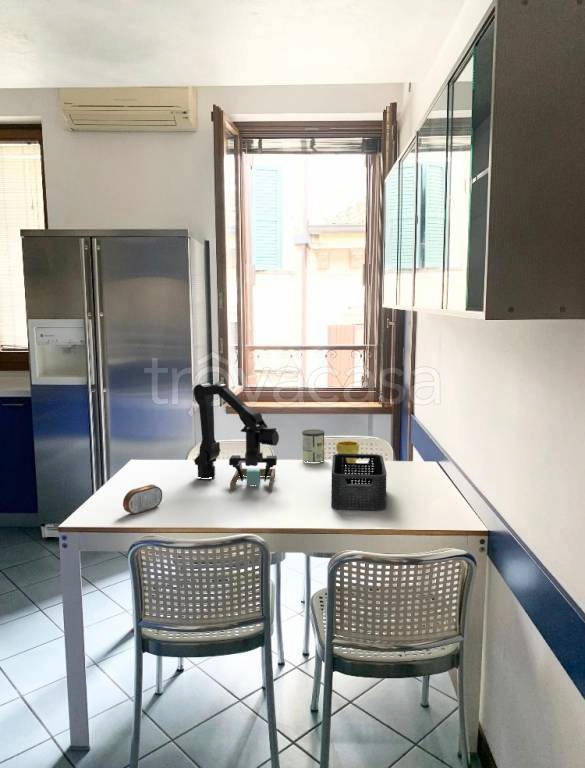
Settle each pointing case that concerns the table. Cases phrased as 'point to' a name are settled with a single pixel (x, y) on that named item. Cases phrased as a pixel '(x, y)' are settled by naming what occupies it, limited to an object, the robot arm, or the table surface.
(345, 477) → the storage bin
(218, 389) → the robot arm
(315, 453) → the coffee can
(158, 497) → the tin
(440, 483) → the table surface
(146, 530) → the table surface
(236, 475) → the wooden u-shaped frame
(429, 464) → the table surface
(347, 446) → the plant pot
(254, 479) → the teal block
